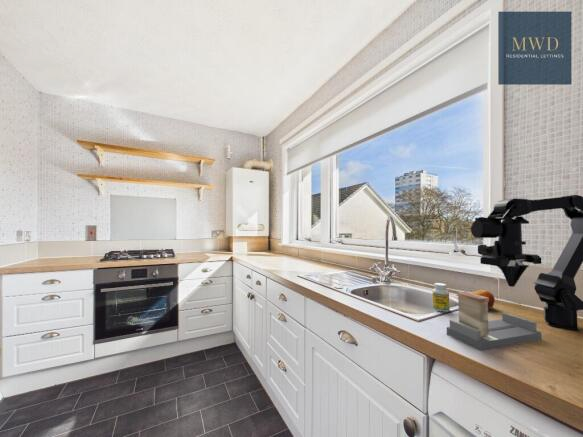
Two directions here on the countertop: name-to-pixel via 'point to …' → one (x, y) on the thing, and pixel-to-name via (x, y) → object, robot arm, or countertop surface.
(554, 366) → the countertop surface
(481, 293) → the fruit
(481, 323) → the wooden rectangular block
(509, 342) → the grooved grey tray
